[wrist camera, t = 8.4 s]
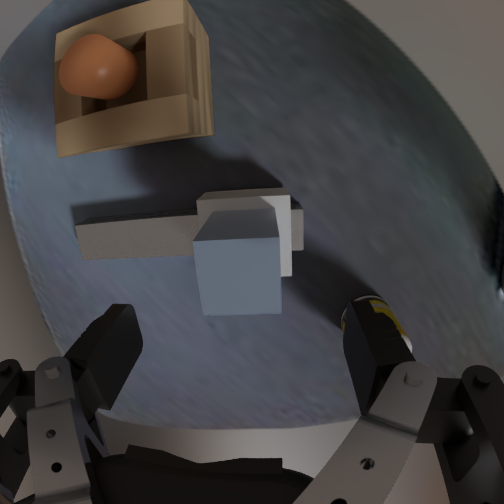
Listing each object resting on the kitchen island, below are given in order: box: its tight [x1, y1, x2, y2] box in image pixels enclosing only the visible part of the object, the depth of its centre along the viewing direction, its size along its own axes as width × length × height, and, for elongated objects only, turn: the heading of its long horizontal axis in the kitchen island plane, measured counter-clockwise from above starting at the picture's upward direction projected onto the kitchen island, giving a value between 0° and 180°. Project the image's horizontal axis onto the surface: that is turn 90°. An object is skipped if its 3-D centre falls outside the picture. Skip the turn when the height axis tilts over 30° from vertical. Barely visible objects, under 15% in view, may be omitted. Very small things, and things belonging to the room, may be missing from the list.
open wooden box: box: [54, 0, 214, 158], centre depth 16 cm, size 8×8×8 cm
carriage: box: [192, 188, 292, 315], centre depth 19 cm, size 6×6×9 cm
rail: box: [75, 203, 303, 260], centre depth 23 cm, size 18×3×2 cm, turn 94°
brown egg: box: [59, 34, 139, 100], centre depth 11 cm, size 3×3×3 cm
